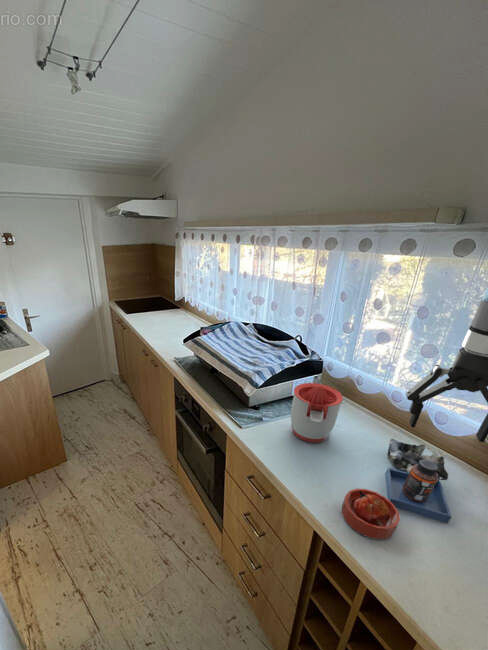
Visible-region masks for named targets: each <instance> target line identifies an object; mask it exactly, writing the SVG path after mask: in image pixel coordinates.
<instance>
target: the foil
mask: <svg viewBox="0 0 488 650" xmlns="http://www.w3.org/2000/svg"><path fill="white" fill-rule="evenodd" d="M425 449H427V450H429V451H430V452H432V454H431V455H425V454H423V453H424V451H425ZM437 451H438V452H439V453H437V452H434V450H433V451H432V449H430V448H429V447H428V446H426V444H409V443H404V442H402V441H398V439H397V440H396V439H394V438H390V440H389V444H388V448H387V459H388V460H389V461H390V463H391V464H392V466H393V467H394V468H395V469H396V470H405V471H406V472H407V473H409V472H410V470H411V468H412V467H413V466H414V465H416V464H418V463H419V461H420V460H428V461H431V462H433V463H435V464H436V465H437V467H438V469H437V474H438V480H437V481H447V480H448V479H449V473H448V471H447V470H446V468H445V462H446V461H445V460H444V459H445V457H444V456H443V455H442V453H441V451H440V450H439V449H437ZM422 454H423V455H422ZM438 454H440V455H438Z"/></svg>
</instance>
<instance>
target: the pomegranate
mask: <svg viewBox="0 0 488 650" xmlns="http://www.w3.org/2000/svg"><path fill="white" fill-rule="evenodd" d="M358 492H360V494H361V496H360V497H359V498H358V499H356V501H355V502H354V511H355V514H356V515H357V516H358V517H359V518H360V519H362V520H364V521H366V520H368V521H371V520H373V519H375V520H376V522H377V523H378V524H379V522H378V521H377V519H378V518H380V517H382V516H386V515H388V513H389V509H388V507H387V505H386V504H385V502H384V501H383V500H382V499H381V498H380V497H378V496H376V495H374V494H367V495H364V494H363V493H362V492H361V490H360V491H358ZM379 526H380V524H379Z"/></svg>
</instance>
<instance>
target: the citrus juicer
mask: <svg viewBox="0 0 488 650" xmlns="http://www.w3.org/2000/svg"><path fill="white" fill-rule="evenodd" d="M343 398H344V397H343V395H342V393H341V392H340V391H338V390H337V389H335V388H334V387H332V386H330V385H326V384H323V383H315V382H305V383H300V384H298V385H296V386H295V387H294V388H293V398H292V404H291V410H290V423H291V424H290V425H291V429H292V430H291V431H292V433H293V434H294V435H295V436H296V437H297V438H298V439H300V440H301V441H304V442H308V443H313V444H314V443H317V444H318V443H321V442H324V441H325V440H326V439H328V437H329V436H330V435H331V432H332V431H333V429H334V427H335V425H336V422H337V420H338V415H339V411H340V407H341V405H342V402H343Z"/></svg>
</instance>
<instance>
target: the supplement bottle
mask: <svg viewBox="0 0 488 650" xmlns="http://www.w3.org/2000/svg"><path fill="white" fill-rule="evenodd" d="M437 469H438V467H437V465H436V464H435V463H433V462H431V461H428V460H420V461H419V463H418V464H416V465H414V466H413V467H412V468H411V470H410V472H408V473H409V475H408V477H407V479H406V481H405V483H404V486H403V489H402V490H403V493H404V494H405V495H406V496H407V497H408V498H409V499H411V500H413V501H416V502H425V501H426V500H427V499H428V497H429V495H430V493H431V491H432V489H433V487H434V486H435V484H436V481H437V480H438V474H437Z"/></svg>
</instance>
